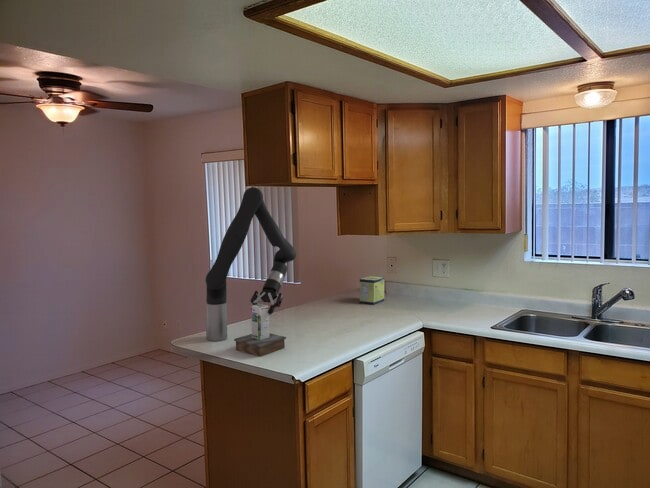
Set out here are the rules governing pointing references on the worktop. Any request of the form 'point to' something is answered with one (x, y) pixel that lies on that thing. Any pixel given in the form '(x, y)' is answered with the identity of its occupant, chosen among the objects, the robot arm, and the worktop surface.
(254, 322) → the syrup box
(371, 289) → the protein box
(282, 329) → the worktop surface
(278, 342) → the podium
